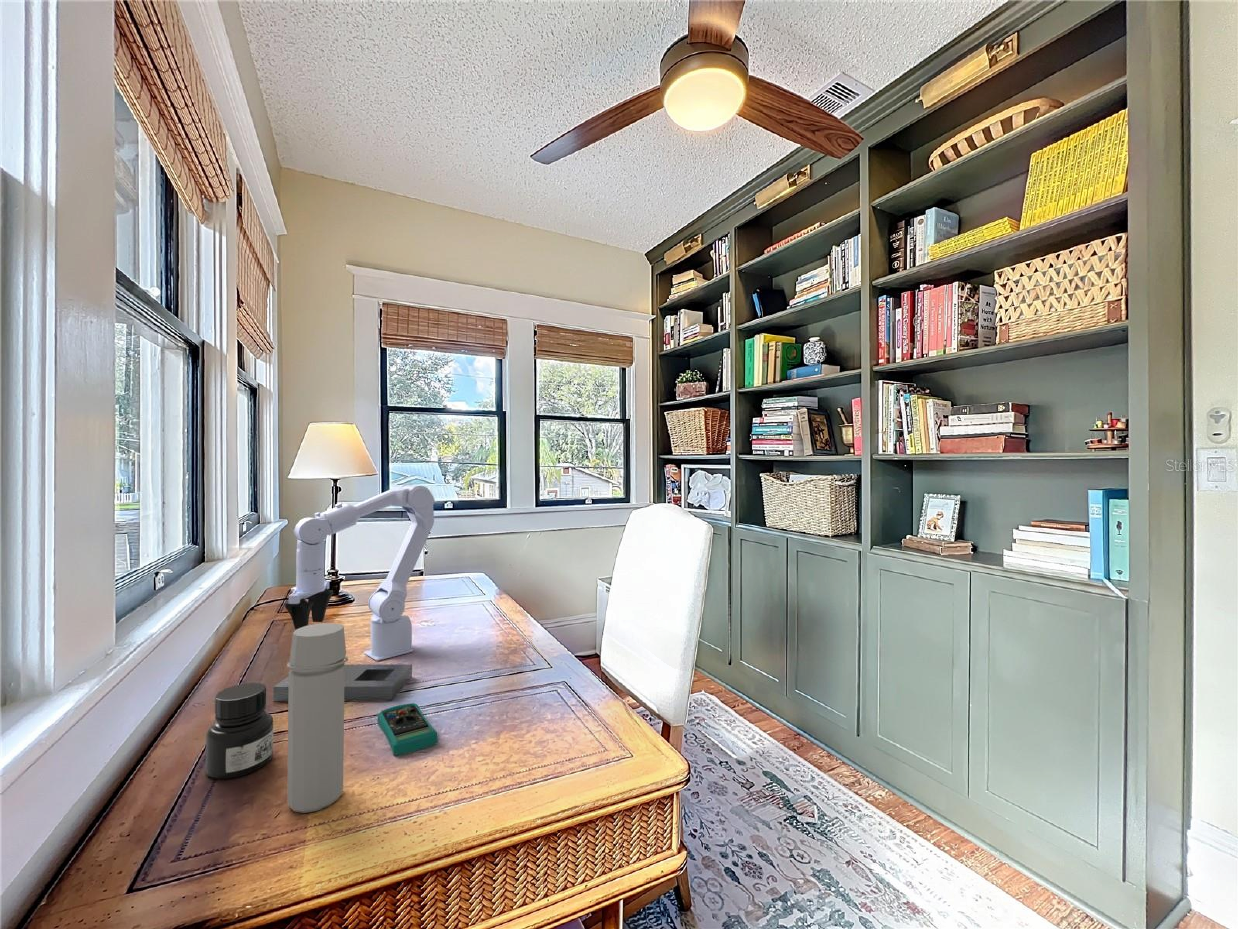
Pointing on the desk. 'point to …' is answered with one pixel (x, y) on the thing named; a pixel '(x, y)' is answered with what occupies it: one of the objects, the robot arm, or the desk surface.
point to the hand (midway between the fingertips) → (309, 626)
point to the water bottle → (316, 716)
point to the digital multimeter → (406, 728)
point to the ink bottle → (239, 732)
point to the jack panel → (364, 682)
